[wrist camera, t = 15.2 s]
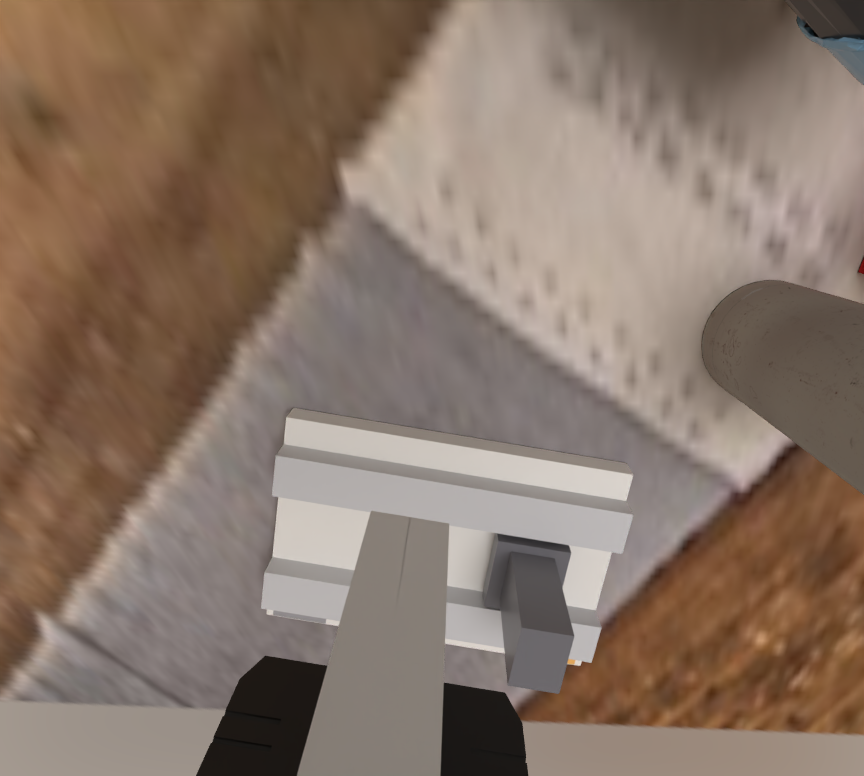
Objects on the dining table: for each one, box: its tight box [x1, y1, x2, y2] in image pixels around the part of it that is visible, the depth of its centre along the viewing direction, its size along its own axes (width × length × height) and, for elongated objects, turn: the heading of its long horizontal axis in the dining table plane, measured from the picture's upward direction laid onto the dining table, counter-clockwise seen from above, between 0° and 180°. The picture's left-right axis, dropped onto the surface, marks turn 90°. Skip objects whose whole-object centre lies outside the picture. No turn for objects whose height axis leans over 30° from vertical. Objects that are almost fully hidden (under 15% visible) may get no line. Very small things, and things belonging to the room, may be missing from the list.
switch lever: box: [483, 533, 574, 694], centre depth 42 cm, size 5×5×10 cm
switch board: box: [261, 408, 633, 666], centre depth 47 cm, size 24×16×4 cm, turn 81°
